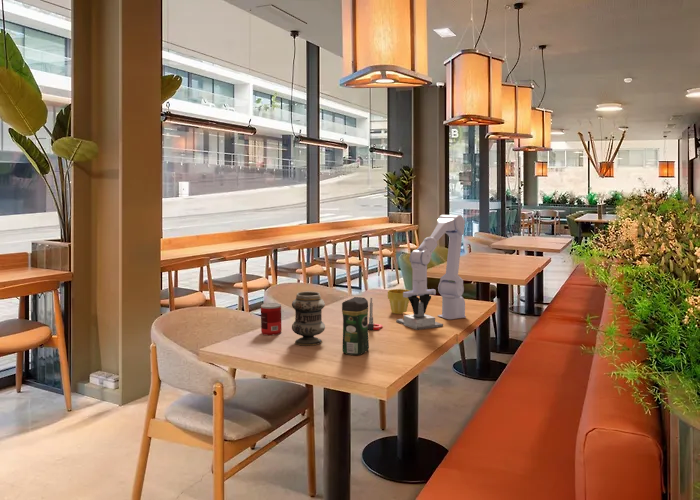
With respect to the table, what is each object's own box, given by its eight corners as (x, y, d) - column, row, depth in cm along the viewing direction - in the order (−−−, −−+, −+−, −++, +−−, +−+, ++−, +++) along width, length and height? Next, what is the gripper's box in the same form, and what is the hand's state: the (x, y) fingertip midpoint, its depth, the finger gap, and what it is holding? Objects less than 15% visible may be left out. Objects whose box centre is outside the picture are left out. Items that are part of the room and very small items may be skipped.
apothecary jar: (312, 348, 198) (311, 297, 196) (285, 343, 205) (284, 294, 203) (331, 340, 208) (331, 292, 207) (305, 336, 215) (304, 289, 213)
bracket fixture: (420, 318, 243) (420, 309, 243) (442, 326, 229) (443, 316, 229) (395, 321, 238) (395, 312, 237) (417, 330, 224) (417, 320, 223)
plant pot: (411, 315, 251) (411, 293, 250) (388, 315, 251) (388, 293, 250) (409, 310, 261) (409, 288, 260) (387, 310, 261) (387, 289, 260)
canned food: (284, 331, 223) (284, 303, 222) (275, 336, 216) (275, 307, 215) (267, 329, 226) (266, 302, 225) (257, 334, 218) (257, 306, 217)
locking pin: (419, 321, 232) (419, 301, 232) (424, 322, 230) (423, 302, 229) (413, 321, 231) (413, 302, 230) (418, 323, 228) (417, 303, 228)
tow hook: (363, 326, 233) (359, 330, 224) (363, 294, 232) (360, 297, 223) (383, 326, 232) (381, 331, 223) (383, 295, 231) (381, 298, 222)
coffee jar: (351, 347, 200) (350, 294, 198) (371, 349, 197) (371, 296, 195) (338, 354, 191) (338, 299, 189) (360, 357, 188) (359, 301, 186)
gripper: (428, 277, 235) (428, 309, 236) (398, 280, 228) (398, 313, 230) (439, 279, 229) (438, 313, 230) (408, 282, 222) (408, 316, 223)
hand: (419, 313), depth 230 cm, fingers closed on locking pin, 3 cm apart
